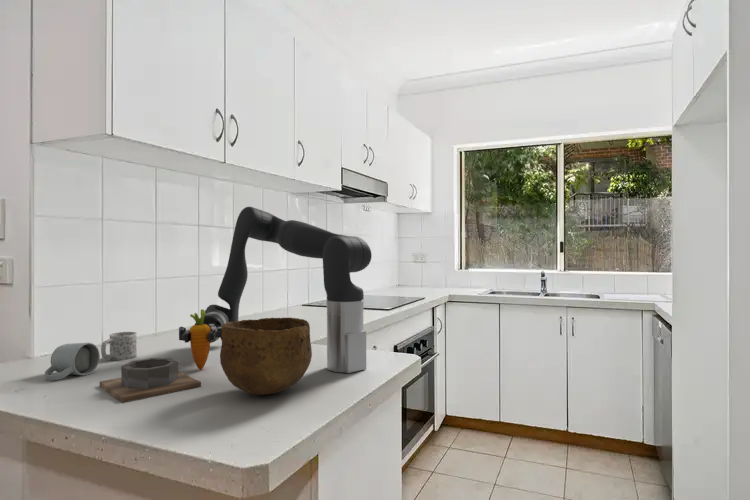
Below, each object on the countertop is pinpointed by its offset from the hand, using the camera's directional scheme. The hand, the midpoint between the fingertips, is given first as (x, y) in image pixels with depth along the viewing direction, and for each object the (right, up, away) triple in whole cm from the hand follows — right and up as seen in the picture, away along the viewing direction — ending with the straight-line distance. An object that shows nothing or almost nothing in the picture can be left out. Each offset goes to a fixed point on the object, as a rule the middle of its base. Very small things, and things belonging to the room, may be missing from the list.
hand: (198, 337), depth 118 cm
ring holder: (-6, -9, -11) cm, 16 cm away
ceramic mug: (-30, -9, -2) cm, 31 cm away
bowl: (+20, -9, -16) cm, 27 cm away
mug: (-28, -9, +15) cm, 33 cm away
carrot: (0, -9, +3) cm, 9 cm away
